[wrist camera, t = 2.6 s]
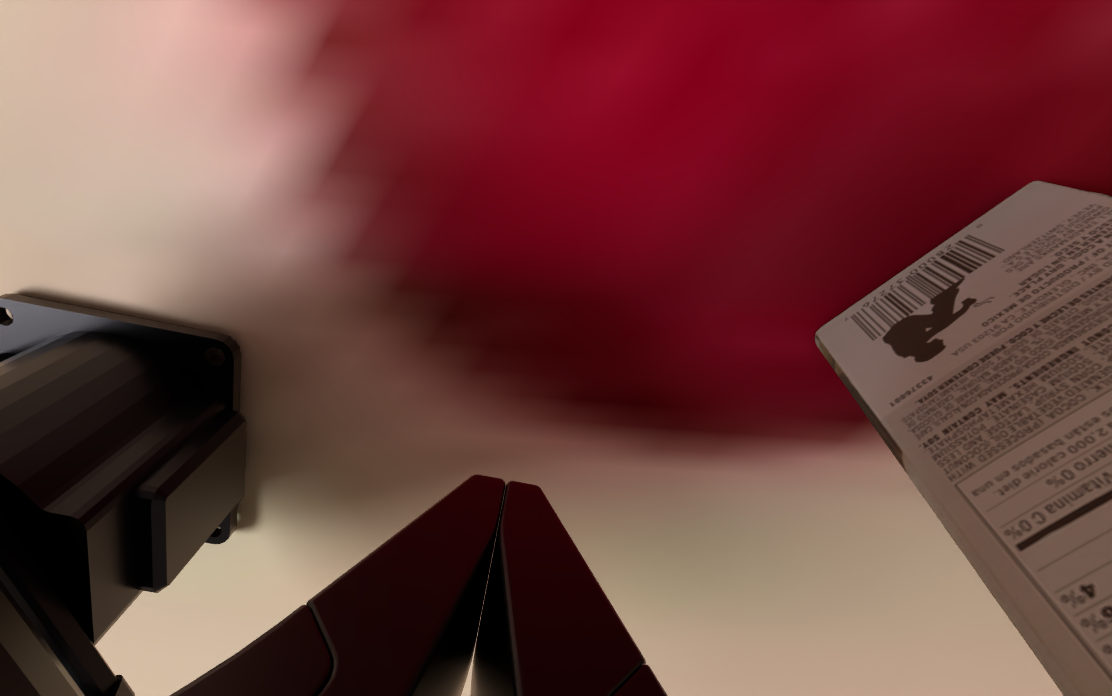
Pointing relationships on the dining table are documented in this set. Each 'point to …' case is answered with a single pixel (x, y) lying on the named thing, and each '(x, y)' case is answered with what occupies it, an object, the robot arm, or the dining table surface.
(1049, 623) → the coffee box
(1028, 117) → the dining table surface
